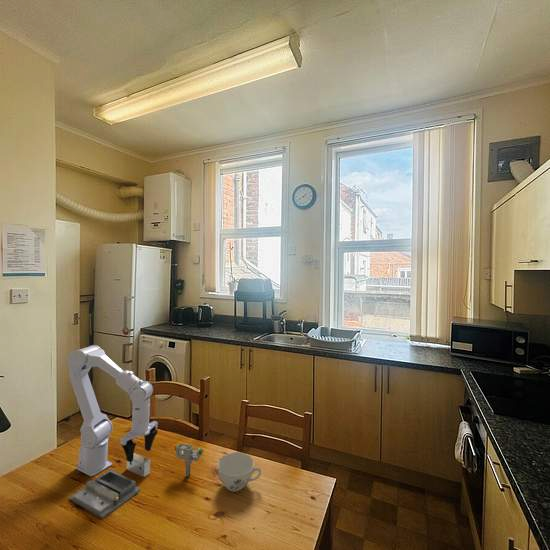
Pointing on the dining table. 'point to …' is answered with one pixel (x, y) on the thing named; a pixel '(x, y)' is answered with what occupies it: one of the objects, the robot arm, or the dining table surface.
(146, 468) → the brushed steel bar
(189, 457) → the mechanical component
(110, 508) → the fixed leaf
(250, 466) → the teacup
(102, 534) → the dining table surface
